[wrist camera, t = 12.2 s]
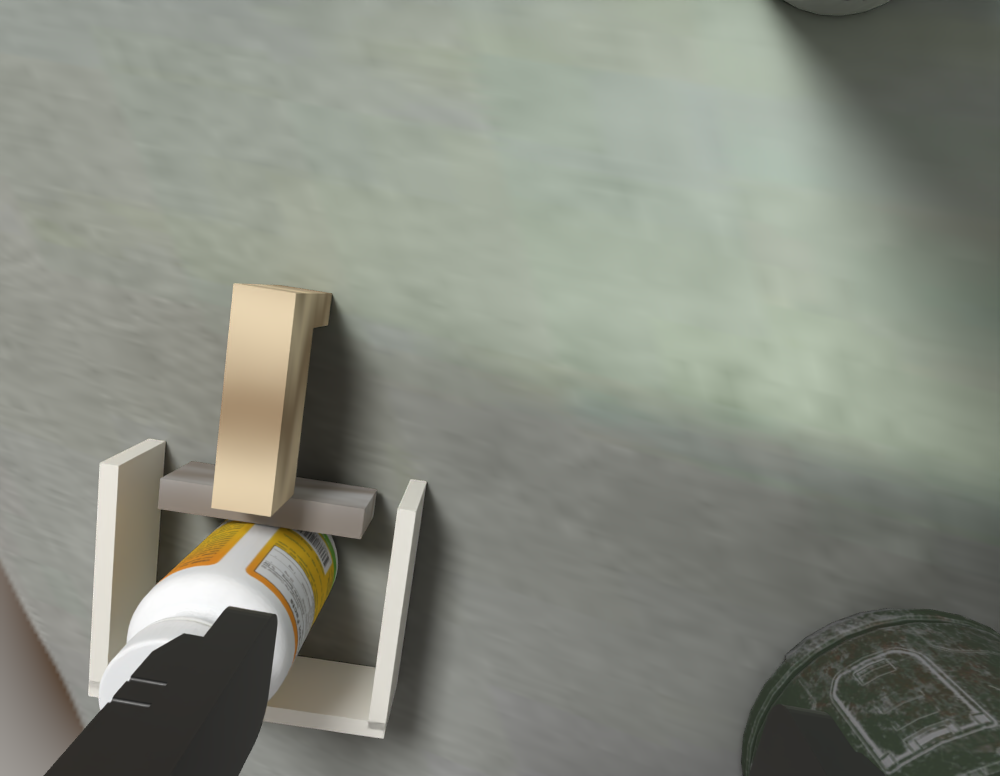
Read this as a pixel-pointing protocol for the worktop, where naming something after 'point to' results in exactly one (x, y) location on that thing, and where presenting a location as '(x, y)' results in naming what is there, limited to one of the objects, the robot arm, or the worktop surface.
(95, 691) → the box
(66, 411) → the worktop surface
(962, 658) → the canister
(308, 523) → the scraper
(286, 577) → the supplement bottle
